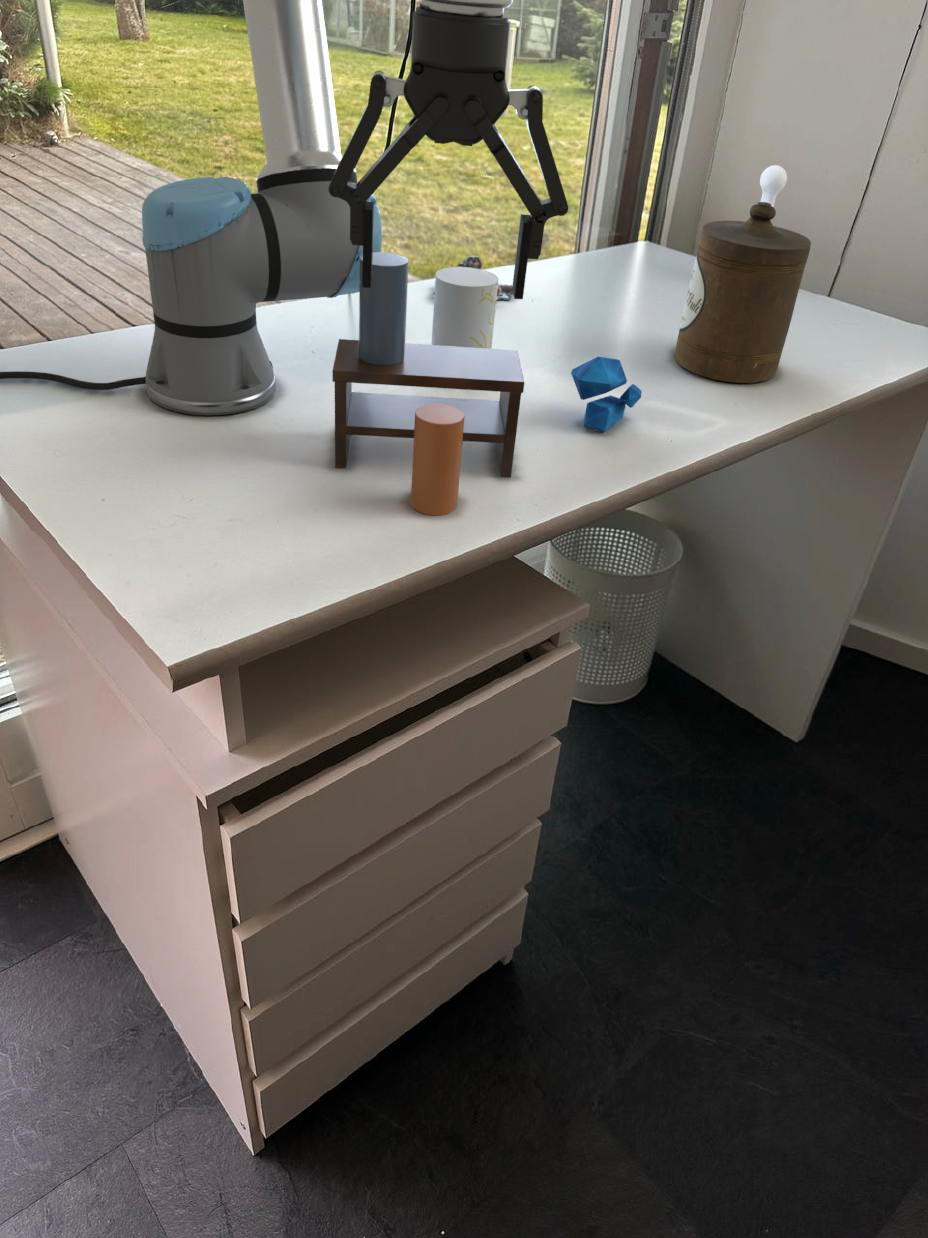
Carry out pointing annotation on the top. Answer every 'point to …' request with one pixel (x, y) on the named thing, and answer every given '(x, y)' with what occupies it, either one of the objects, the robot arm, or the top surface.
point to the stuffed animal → (476, 263)
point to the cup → (464, 307)
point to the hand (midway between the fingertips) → (442, 288)
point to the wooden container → (741, 298)
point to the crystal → (603, 392)
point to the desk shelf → (427, 370)
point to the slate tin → (383, 310)
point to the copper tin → (436, 458)
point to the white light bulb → (772, 183)
